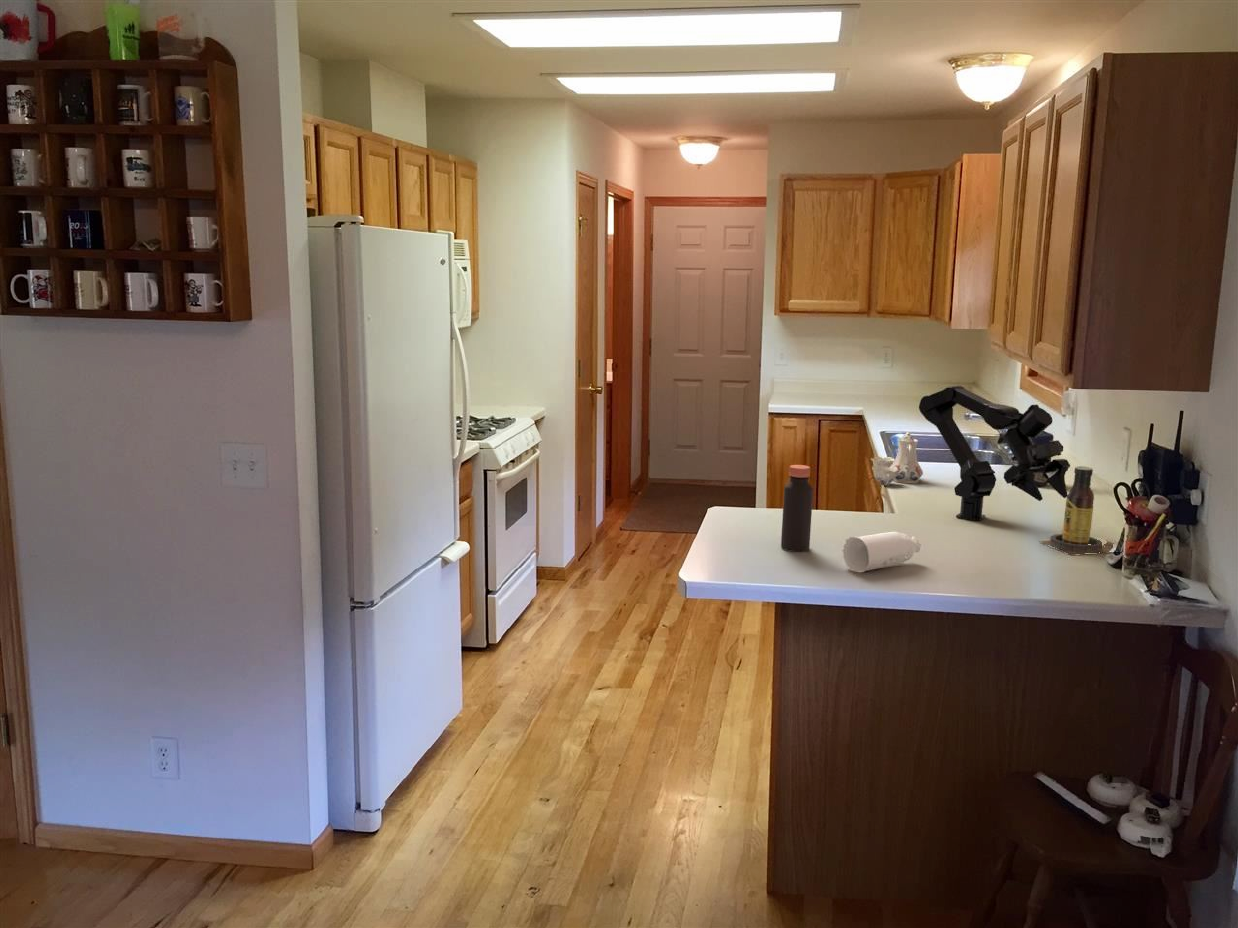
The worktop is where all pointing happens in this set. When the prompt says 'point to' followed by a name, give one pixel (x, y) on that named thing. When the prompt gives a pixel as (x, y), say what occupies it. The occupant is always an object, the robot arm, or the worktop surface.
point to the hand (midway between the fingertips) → (1053, 498)
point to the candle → (1045, 439)
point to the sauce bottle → (1079, 508)
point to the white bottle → (879, 551)
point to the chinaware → (899, 464)
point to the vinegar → (797, 510)
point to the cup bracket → (1078, 549)
